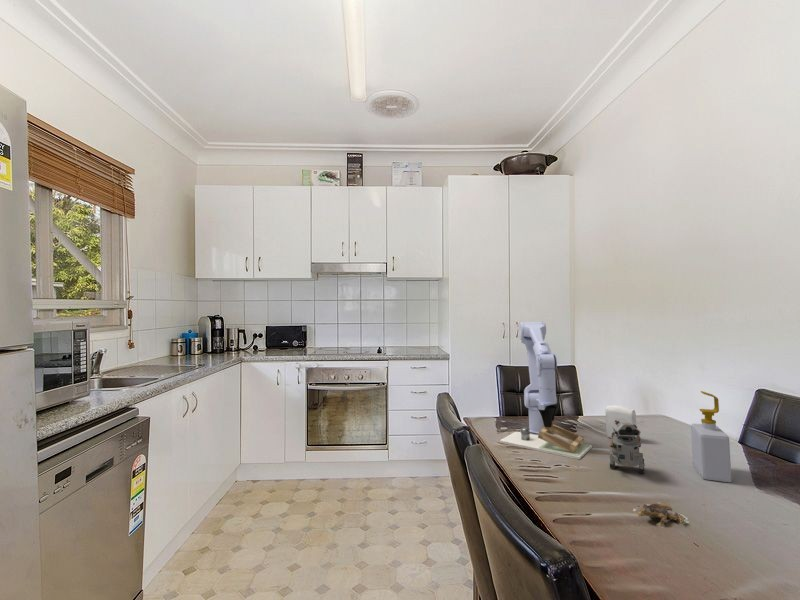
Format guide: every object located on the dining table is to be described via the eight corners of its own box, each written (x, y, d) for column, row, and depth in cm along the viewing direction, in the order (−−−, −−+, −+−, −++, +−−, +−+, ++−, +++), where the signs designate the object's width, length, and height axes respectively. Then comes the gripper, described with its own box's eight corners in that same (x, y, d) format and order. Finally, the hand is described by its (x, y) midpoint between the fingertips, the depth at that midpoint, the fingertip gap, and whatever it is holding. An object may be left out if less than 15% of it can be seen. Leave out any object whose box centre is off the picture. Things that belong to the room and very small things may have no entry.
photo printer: (604, 437, 149) (603, 404, 150) (609, 435, 152) (608, 402, 153) (634, 444, 141) (632, 409, 142) (639, 441, 144) (637, 407, 145)
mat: (552, 438, 147) (552, 438, 147) (589, 445, 139) (589, 444, 139) (538, 448, 137) (538, 447, 137) (578, 456, 129) (578, 455, 129)
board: (515, 433, 157) (515, 431, 157) (591, 447, 139) (591, 445, 139) (499, 442, 146) (499, 440, 146) (579, 459, 128) (579, 456, 128)
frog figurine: (670, 538, 84) (669, 520, 84) (620, 513, 95) (619, 496, 95) (705, 527, 88) (704, 509, 88) (653, 503, 99) (652, 488, 99)
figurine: (608, 476, 115) (606, 423, 115) (610, 462, 125) (608, 414, 125) (645, 482, 110) (642, 427, 111) (644, 468, 120) (642, 417, 120)
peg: (523, 437, 149) (523, 426, 149) (531, 439, 147) (530, 428, 147) (520, 439, 147) (519, 428, 147) (527, 441, 145) (527, 430, 145)
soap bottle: (692, 464, 122) (688, 387, 123) (719, 467, 119) (715, 388, 120) (702, 479, 111) (698, 395, 112) (732, 483, 108) (727, 397, 109)
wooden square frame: (546, 428, 148) (550, 414, 147) (582, 443, 140) (586, 429, 139) (535, 436, 138) (539, 422, 138) (573, 453, 131) (577, 437, 130)
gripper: (542, 383, 150) (543, 420, 150) (528, 390, 139) (530, 429, 138) (561, 385, 146) (563, 422, 145) (549, 392, 134) (551, 432, 134)
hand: (548, 426), depth 142 cm, fingers closed on wooden square frame
